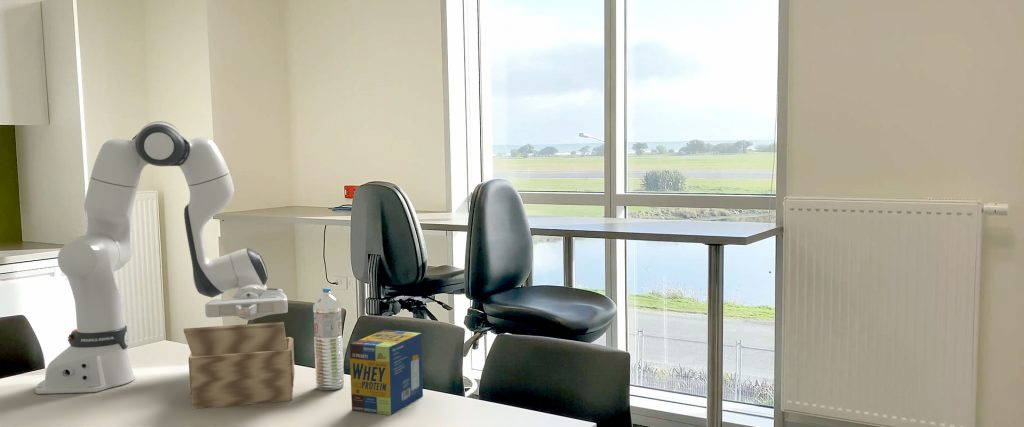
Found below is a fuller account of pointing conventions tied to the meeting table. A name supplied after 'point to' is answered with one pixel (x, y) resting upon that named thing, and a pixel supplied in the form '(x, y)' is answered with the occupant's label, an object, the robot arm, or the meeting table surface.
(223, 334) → the carton flap
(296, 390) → the meeting table surface
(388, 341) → the protein box
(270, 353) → the carton
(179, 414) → the meeting table surface
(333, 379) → the water bottle
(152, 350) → the meeting table surface
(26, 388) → the meeting table surface
